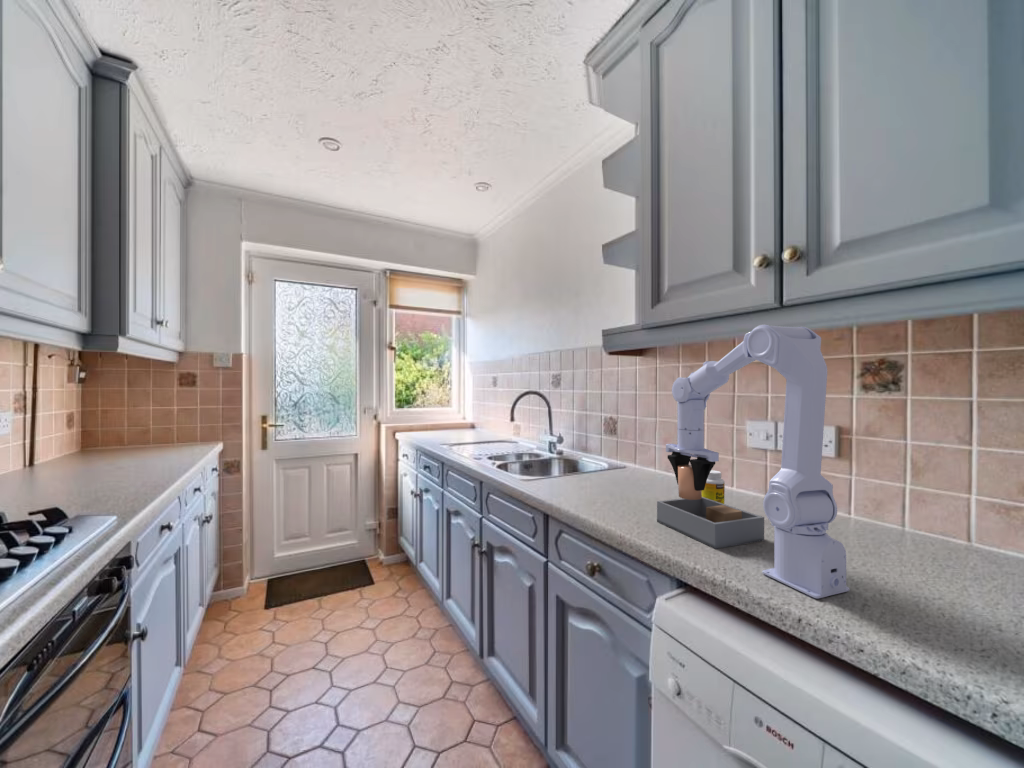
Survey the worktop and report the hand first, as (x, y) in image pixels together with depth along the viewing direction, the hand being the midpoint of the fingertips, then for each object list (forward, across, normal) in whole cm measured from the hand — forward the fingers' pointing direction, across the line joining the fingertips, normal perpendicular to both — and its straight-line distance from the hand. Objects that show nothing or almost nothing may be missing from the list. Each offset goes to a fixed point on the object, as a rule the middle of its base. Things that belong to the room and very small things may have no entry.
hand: (690, 487), depth 96 cm
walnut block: (+9, +6, +4) cm, 11 cm away
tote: (+9, +3, +2) cm, 10 cm away
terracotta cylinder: (+2, 0, 0) cm, 2 cm away
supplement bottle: (+10, -9, +16) cm, 21 cm away
